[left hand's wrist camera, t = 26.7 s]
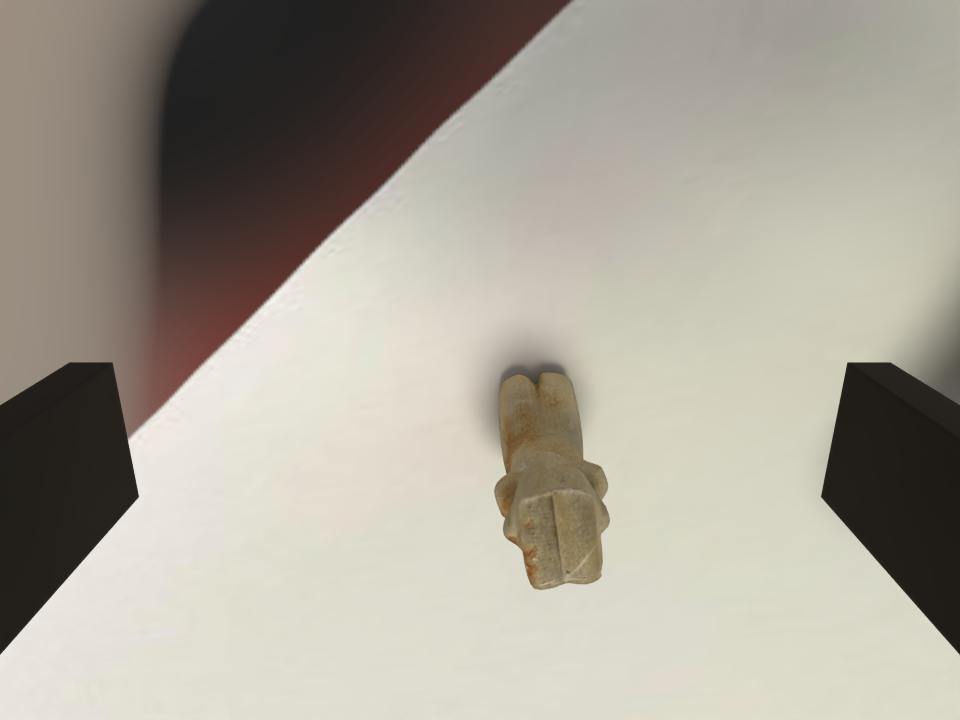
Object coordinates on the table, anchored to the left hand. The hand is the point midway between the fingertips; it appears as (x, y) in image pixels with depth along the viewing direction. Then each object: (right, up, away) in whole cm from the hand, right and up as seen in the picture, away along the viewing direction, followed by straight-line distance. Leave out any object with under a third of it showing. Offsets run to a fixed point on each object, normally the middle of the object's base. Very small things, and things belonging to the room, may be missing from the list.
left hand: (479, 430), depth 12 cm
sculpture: (+4, -2, +31) cm, 32 cm away
